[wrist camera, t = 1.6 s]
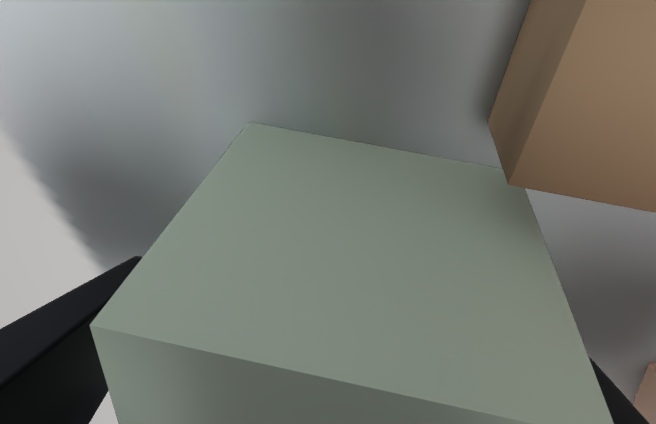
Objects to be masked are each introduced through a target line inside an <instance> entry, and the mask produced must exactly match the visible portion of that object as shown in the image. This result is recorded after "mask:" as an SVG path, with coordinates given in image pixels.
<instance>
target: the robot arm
mask: <svg viewBox="0 0 656 424" xmlns="http://www.w3.org/2000/svg"><path fill="white" fill-rule="evenodd" d="M142 258H143V257H141V256H135V257H133V258H131V259H129V260H127V261H125V262H123V263H121V264H120V265H118V266H116V267H114V268H112V269H110V270H109V271H107V272H105V273H103V274H101V275H99V276H97V277H96V278H94V279H92V280H90V281H88V282H87V283H84V284H83V285H81V286H79V287H77V288H75V289H73V290H72V291H70V292H68V293H66V294H64V295H63V296H60V297H59V298H57V299H55V300H53V301H51V302H49V303H48V304H46V305H44V306H42V307H40V308H38V309H36V310H35V311H33V312H31V313H29V314H27V315H25V316H24V317H22V318H20V319H18V320H16V321H14V322H13V323H11V324H9V325H7V326H5V327H3V328H1V329H0V424H89V422H90V421H91V419H92V417H93V416H94V414H95V412H96V410H97V409H98V407H99V406H100V404H101V402H102V401H103V399H104V397H105V396H106V394H107V392H108V390H109V389H108V386H107V383H106V379H105V376H104V373H103V369H102V366H101V363H100V359H99V356H98V352H97V349H96V346H95V342H94V339H93V336H92V332H91V329H90V326H89V325H90V324H91V323H92V321H93V320H94V319H95V318H96V316H97V315H98V314H99V312H100V311H101V310H102V309H103V307H104V306H105V305H106V304H107V302H108V301H109V300H110V298H111V297H112V296H113V295H114V293H115V292H116V291H117V289H118V288H119V287H120V286H121V284H122V283H123V282H124V281H125V279H126V278H127V277H128V275H129V274H130V273H131V272H132V270H133V269H134V268H135V266H136V265H137V264H138V263H139V261H140V260H141V259H142ZM588 357H589V356H588ZM589 359H590V362H591V365H592V367H593V370H594V373H595V375H596V378H597V381H598V383H599V386H600V388H601V391H602V394H603V396H604V399H605V402H606V404H607V407H608V410H609V412H610V415H611V417H612V420H613V423H614V424H650V423H649V422H648V421H647V420H646V419H645V418H644V417H643V415H642V414H641V413H640V412H639V411H638V410H637V409H636V408H635V407H634V406H633V404H632V403H631V402H630V401H629V400H628V399H627V398H626V397H625V396H624V394H623V393H622V392H621V391H620V390H619V389H618V388H617V387H616V386H615V385H614V383H613V382H612V381H611V380H610V379H609V378H608V377H607V376H606V375H605V373H604V372H603V371H602V370H601V369H600V368H599V367H598V366H597V365H596V364H595V362H594V361H593V360H592V359H591V358H590V357H589Z"/></svg>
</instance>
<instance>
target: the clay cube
mask: <svg viewBox="0 0 656 424" xmlns="http://www.w3.org/2000/svg"><path fill="white" fill-rule="evenodd" d="M633 406H634V407H635V408H636V409H637V410H638V411H639V412H640V413H641V414H642V415H643V417H644V418H645V419H646V420H647V421H648V422H649V423H650V424H656V363H654V362H649V364H648V367H647V369H646V372H645V374H644V376H643V379H642V381H641V384H640V386H639V389H638V391H637V394H636V396H635V399H634V401H633Z"/></svg>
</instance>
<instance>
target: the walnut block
mask: <svg viewBox="0 0 656 424" xmlns="http://www.w3.org/2000/svg"><path fill="white" fill-rule="evenodd" d="M487 122H488V125H489V128H490V131H491V134H492V137H493V140H494V143H495V146H496V149H497V152H498V156H499V159H500V162H501V165H502V168H503V171H504V174H505V177H506V180H507V183H508V185H512V186H517V187H522V188H528V189H533V190H538V191H544V192H549V193H554V194H560V195H565V196H570V197H576V198H581V199H586V200H592V201H597V202H602V203H608V204H613V205H618V206H624V207H629V208H634V209H640V210H645V211H650V212H656V0H531V1H530V4H529V7H528V10H527V12H526V15H525V18H524V21H523V24H522V26H521V29H520V32H519V35H518V38H517V40H516V43H515V46H514V49H513V52H512V54H511V57H510V60H509V63H508V65H507V68H506V71H505V74H504V77H503V79H502V82H501V85H500V88H499V91H498V93H497V96H496V99H495V102H494V105H493V107H492V110H491V113H490V116H489V119H488V121H487Z"/></svg>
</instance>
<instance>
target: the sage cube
mask: <svg viewBox="0 0 656 424" xmlns="http://www.w3.org/2000/svg"><path fill="white" fill-rule="evenodd" d="M89 326H90V329H91V332H92V336H93V339H94V342H95V346H96V349H97V352H98V356H99V359H100V363H101V366H102V369H103V373H104V376H105V379H106V383H107V386H108V389H109V393H110V396H111V399H112V403H113V406H114V409H115V413H116V416H117V420H118V423H119V424H614V423H613V420H612V417H611V415H610V412H609V410H608V407H607V404H606V402H605V399H604V396H603V394H602V391H601V388H600V386H599V383H598V381H597V378H596V375H595V373H594V370H593V367H592V365H591V362H590V359H589V357H588V354H587V352H586V349H585V346H584V344H583V341H582V338H581V336H580V333H579V330H578V328H577V325H576V323H575V320H574V317H573V315H572V312H571V309H570V307H569V304H568V301H567V299H566V296H565V293H564V291H563V288H562V286H561V283H560V280H559V278H558V275H557V272H556V270H555V267H554V264H553V262H552V259H551V257H550V254H549V251H548V249H547V246H546V243H545V241H544V238H543V235H542V233H541V230H540V228H539V225H538V222H537V220H536V217H535V214H534V212H533V209H532V206H531V204H530V201H529V198H528V196H527V193H526V191H525V188H522V187H517V186H512V185H508V183H507V180H506V177H505V174H504V171H503V169H500V168H495V167H490V166H484V165H479V164H473V163H468V162H463V161H457V160H452V159H446V158H441V157H436V156H430V155H425V154H419V153H414V152H409V151H403V150H398V149H392V148H387V147H381V146H376V145H371V144H365V143H360V142H354V141H349V140H344V139H338V138H333V137H327V136H322V135H317V134H311V133H306V132H300V131H295V130H290V129H284V128H279V127H273V126H268V125H263V124H257V123H252V122H248V123H247V125H246V126H245V127H244V128H243V130H242V131H241V132H240V134H239V135H238V136H237V137H236V139H235V140H234V141H233V142H232V144H231V145H230V146H229V148H228V149H227V150H226V151H225V153H224V154H223V155H222V157H221V158H220V159H219V160H218V162H217V163H216V164H215V165H214V167H213V168H212V169H211V171H210V172H209V173H208V174H207V176H206V177H205V178H204V180H203V181H202V182H201V183H200V185H199V186H198V187H197V188H196V190H195V191H194V192H193V194H192V195H191V196H190V197H189V199H188V200H187V201H186V203H185V204H184V205H183V206H182V208H181V209H180V210H179V212H178V213H177V214H176V215H175V217H174V218H173V219H172V220H171V222H170V223H169V224H168V226H167V227H166V228H165V229H164V231H163V232H162V233H161V235H160V236H159V237H158V238H157V240H156V241H155V242H154V243H153V245H152V246H151V247H150V249H149V250H148V251H147V252H146V254H145V255H144V256H143V258H142V259H141V260H140V261H139V263H138V264H137V265H136V266H135V268H134V269H133V270H132V272H131V273H130V274H129V275H128V277H127V278H126V279H125V281H124V282H123V283H122V284H121V286H120V287H119V288H118V289H117V291H116V292H115V293H114V295H113V296H112V297H111V298H110V300H109V301H108V302H107V304H106V305H105V306H104V307H103V309H102V310H101V311H100V312H99V314H98V315H97V316H96V318H95V319H94V320H93V321H92V323H91V324H90V325H89Z"/></svg>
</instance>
